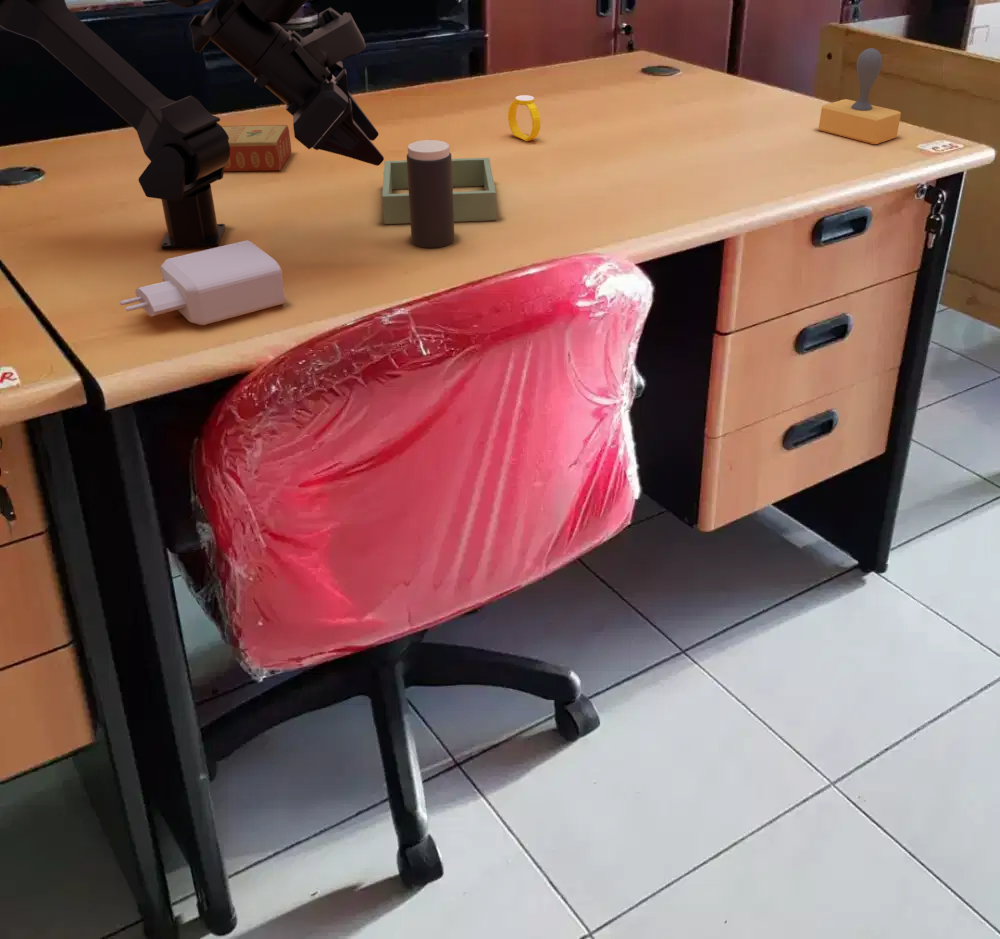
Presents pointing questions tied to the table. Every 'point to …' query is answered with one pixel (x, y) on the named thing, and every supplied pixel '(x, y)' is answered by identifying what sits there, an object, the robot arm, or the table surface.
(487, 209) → the box
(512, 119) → the watch
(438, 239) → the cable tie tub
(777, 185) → the table surface
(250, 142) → the carton
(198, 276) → the charger
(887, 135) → the rubber stamp
